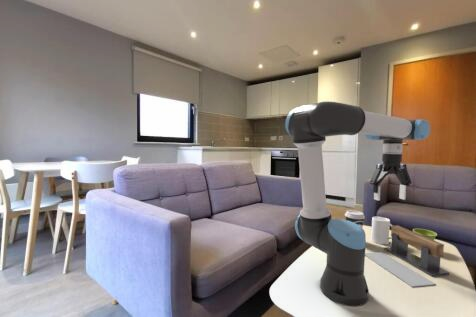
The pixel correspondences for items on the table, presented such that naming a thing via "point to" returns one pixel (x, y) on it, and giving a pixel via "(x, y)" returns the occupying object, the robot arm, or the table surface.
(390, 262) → the mat
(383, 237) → the mug
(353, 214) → the coffee cup
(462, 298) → the table surface
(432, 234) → the plant pot
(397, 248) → the stand
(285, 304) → the table surface
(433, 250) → the rail
